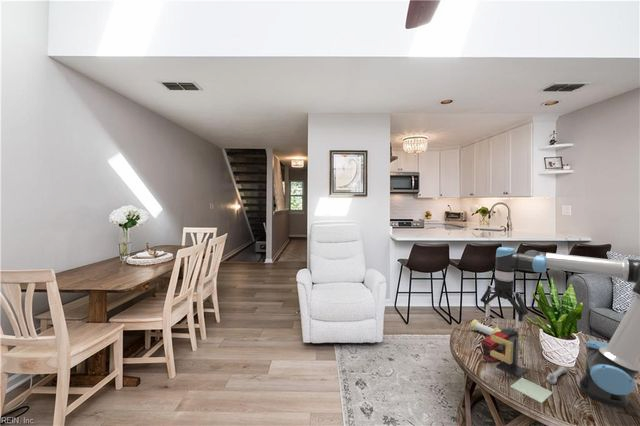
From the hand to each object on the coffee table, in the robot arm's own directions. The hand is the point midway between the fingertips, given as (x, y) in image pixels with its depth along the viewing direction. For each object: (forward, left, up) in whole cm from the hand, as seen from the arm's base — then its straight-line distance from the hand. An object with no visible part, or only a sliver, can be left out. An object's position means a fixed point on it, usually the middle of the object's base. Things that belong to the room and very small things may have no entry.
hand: (502, 321), depth 134 cm
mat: (-13, 0, -27) cm, 30 cm away
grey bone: (-16, -21, -27) cm, 38 cm away
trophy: (+19, -35, -27) cm, 48 cm away
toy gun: (+8, -17, -27) cm, 33 cm away
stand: (-1, -5, -27) cm, 27 cm away
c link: (0, 0, -19) cm, 19 cm away
